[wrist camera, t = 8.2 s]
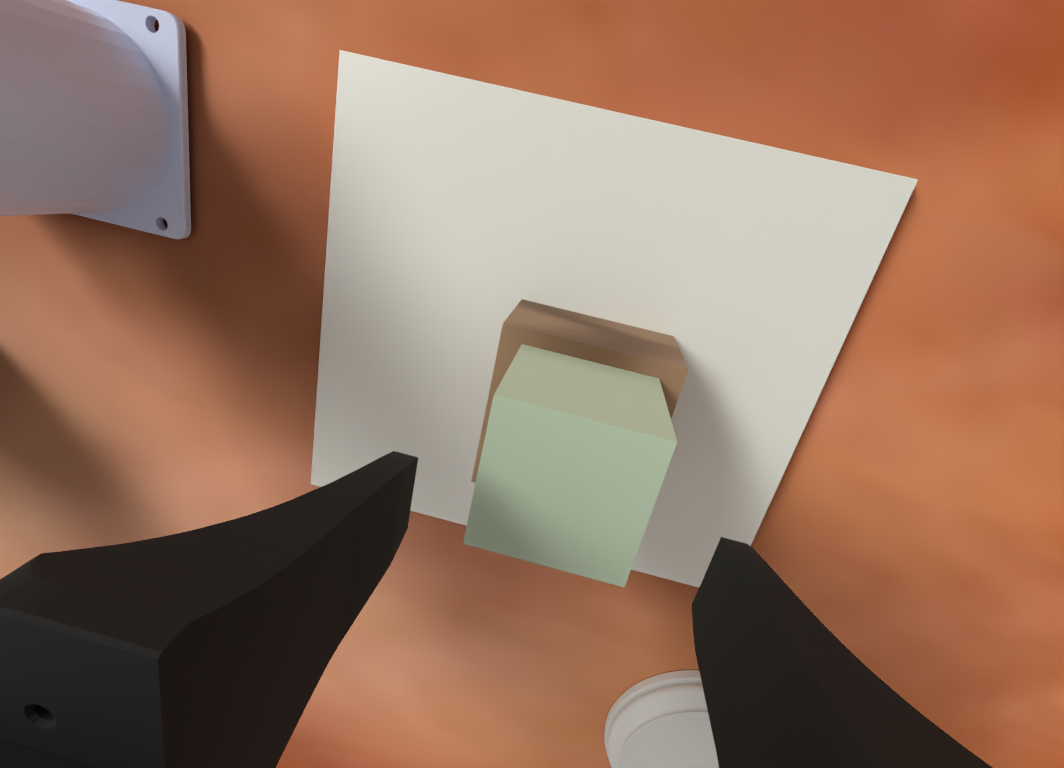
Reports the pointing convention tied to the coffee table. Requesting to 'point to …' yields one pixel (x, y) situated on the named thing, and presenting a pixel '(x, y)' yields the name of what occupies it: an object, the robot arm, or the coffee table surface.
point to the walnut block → (586, 349)
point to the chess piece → (661, 724)
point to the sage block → (571, 465)
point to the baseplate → (581, 283)
